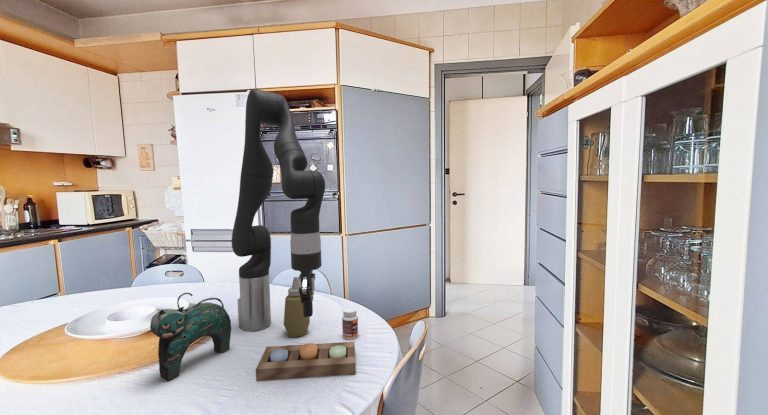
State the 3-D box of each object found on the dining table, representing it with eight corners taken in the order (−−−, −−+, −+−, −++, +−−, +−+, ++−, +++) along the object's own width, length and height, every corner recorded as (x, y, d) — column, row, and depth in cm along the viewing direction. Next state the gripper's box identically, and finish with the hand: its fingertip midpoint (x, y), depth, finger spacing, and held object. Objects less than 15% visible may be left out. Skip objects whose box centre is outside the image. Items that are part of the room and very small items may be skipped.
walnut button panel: (256, 381, 83) (255, 369, 82) (266, 357, 93) (266, 346, 93) (355, 374, 85) (355, 362, 85) (354, 351, 96) (354, 341, 96)
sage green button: (329, 365, 88) (328, 354, 87) (330, 356, 92) (329, 345, 92) (346, 364, 88) (346, 353, 88) (346, 355, 92) (346, 344, 92)
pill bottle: (355, 340, 103) (355, 313, 102) (340, 338, 104) (339, 312, 103) (359, 333, 107) (359, 307, 107) (345, 331, 108) (344, 306, 107)
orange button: (299, 363, 87) (298, 351, 86) (301, 354, 91) (301, 343, 91) (316, 362, 87) (316, 350, 87) (318, 353, 92) (317, 342, 91)
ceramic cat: (163, 387, 80) (157, 305, 79) (148, 379, 84) (142, 300, 82) (235, 349, 98) (232, 281, 96) (221, 344, 101) (217, 278, 99)
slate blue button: (269, 369, 86) (268, 358, 86) (272, 360, 90) (272, 349, 90) (286, 368, 86) (286, 357, 86) (289, 359, 91) (289, 348, 91)
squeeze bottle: (315, 330, 110) (314, 275, 108) (299, 341, 102) (297, 282, 101) (295, 325, 113) (293, 272, 111) (278, 336, 106) (276, 279, 104)
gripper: (318, 254, 80) (321, 325, 82) (322, 244, 93) (324, 305, 95) (286, 256, 79) (289, 327, 81) (294, 244, 93) (297, 306, 94)
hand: (308, 315), depth 88 cm, fingers closed
